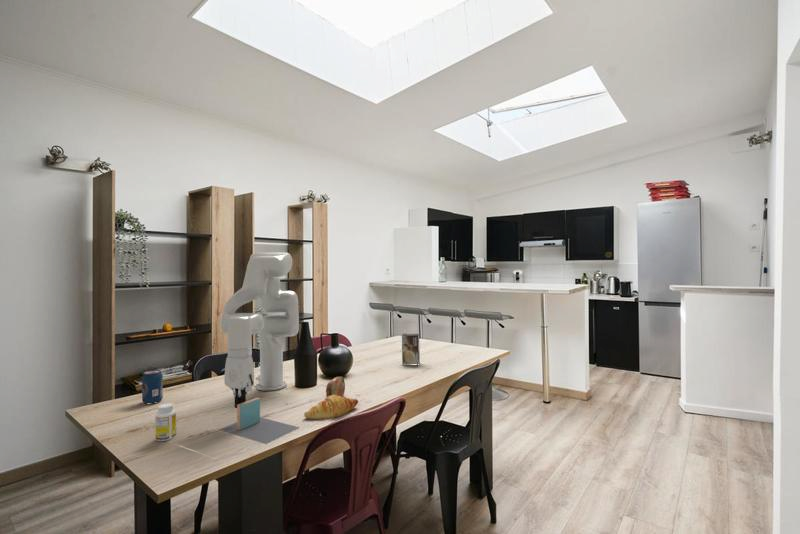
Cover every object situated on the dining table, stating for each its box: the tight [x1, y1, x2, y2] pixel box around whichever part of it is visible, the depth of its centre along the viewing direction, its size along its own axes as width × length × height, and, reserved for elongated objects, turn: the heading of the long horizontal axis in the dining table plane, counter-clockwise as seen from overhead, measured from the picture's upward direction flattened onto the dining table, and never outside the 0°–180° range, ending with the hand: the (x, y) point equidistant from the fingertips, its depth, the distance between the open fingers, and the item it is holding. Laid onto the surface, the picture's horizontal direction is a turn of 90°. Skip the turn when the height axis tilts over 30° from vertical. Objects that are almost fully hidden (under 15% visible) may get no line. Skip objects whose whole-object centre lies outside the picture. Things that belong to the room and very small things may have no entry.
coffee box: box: [401, 333, 421, 365], centre depth 219 cm, size 9×6×16 cm
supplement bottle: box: [154, 402, 177, 442], centre depth 126 cm, size 6×6×10 cm
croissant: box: [303, 395, 359, 420], centre depth 146 cm, size 21×10×8 cm, turn 128°
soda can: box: [141, 369, 164, 405], centre depth 160 cm, size 7×7×12 cm
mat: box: [219, 416, 301, 445], centre depth 132 cm, size 22×14×1 cm, turn 60°
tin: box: [325, 376, 346, 398], centre depth 161 cm, size 15×3×8 cm, turn 168°
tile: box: [236, 397, 261, 430], centre depth 135 cm, size 2×8×8 cm, turn 150°
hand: (240, 407), depth 137 cm, fingers closed
